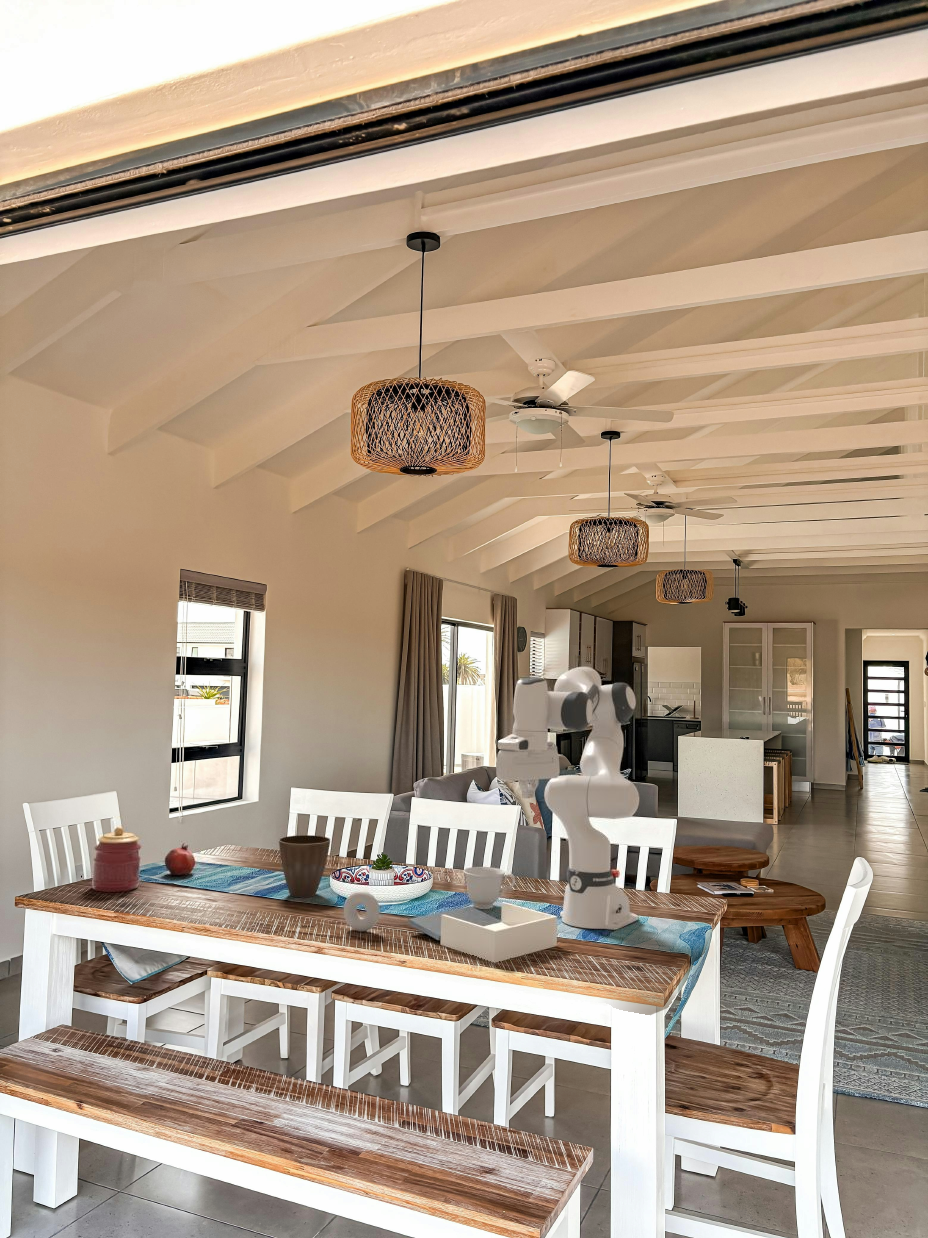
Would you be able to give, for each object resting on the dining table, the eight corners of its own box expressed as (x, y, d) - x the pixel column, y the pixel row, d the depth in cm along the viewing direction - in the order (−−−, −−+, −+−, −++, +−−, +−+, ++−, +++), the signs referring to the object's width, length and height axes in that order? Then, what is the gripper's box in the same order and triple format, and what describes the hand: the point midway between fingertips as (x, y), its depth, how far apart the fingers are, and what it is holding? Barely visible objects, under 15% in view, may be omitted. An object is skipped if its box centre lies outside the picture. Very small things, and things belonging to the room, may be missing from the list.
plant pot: (300, 903, 250) (303, 845, 251) (265, 894, 259) (268, 839, 260) (338, 895, 262) (341, 839, 263) (303, 886, 271) (306, 833, 272)
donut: (381, 932, 223) (383, 891, 224) (374, 935, 220) (376, 894, 221) (347, 927, 227) (348, 887, 228) (340, 930, 224) (341, 889, 225)
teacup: (511, 914, 245) (512, 877, 246) (458, 910, 248) (459, 873, 249) (517, 904, 257) (518, 869, 258) (466, 900, 260) (468, 865, 261)
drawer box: (556, 946, 217) (557, 916, 217) (494, 963, 201) (495, 931, 202) (503, 929, 230) (503, 902, 230) (440, 944, 214) (441, 915, 215)
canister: (128, 893, 255) (132, 831, 256) (83, 892, 255) (87, 829, 256) (145, 884, 267) (149, 824, 269) (103, 882, 268) (106, 822, 269)
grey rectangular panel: (501, 921, 230) (470, 906, 238) (439, 935, 215) (408, 919, 223) (500, 929, 230) (469, 914, 239) (437, 944, 215) (407, 927, 223)
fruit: (157, 876, 278) (159, 844, 279) (176, 870, 287) (177, 839, 288) (183, 879, 276) (184, 846, 276) (200, 873, 285) (202, 841, 285)
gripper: (547, 740, 232) (545, 794, 231) (492, 742, 218) (491, 799, 217) (566, 742, 228) (564, 797, 227) (511, 743, 213) (509, 802, 212)
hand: (528, 798), depth 222 cm, fingers closed
